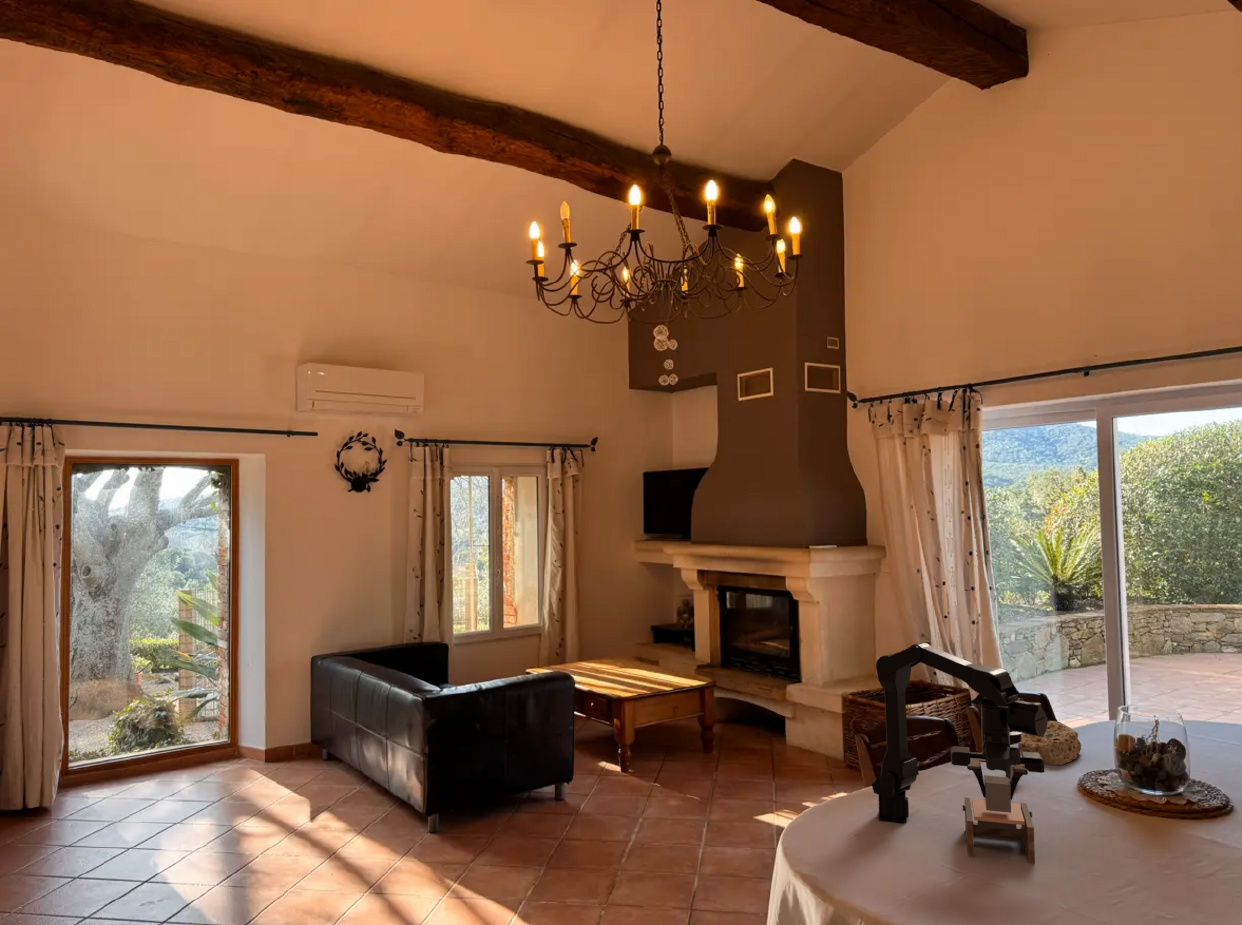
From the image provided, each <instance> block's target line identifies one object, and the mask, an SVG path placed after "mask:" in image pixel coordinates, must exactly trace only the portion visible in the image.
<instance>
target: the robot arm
mask: <svg viewBox="0 0 1242 925" xmlns="http://www.w3.org/2000/svg"><path fill="white" fill-rule="evenodd" d="M920 663H922V664H923V665H926V666H928V667H930V668H933V669H935V670H937V671H940V672H942V673H944V674H947V675H949V676H951V677H954V678H956V679H957V680H961V681H963V682H964V683H965V684H967V685H968V687H969V688H970V689H971V690H972V691H974V692H976V693H977V696H976V697H975V698H973V699H972V700H971V702H970V703H971V704H972V705H978V706H980V719H981V720H980V721H981V752H975V751H974V752H972V751H970V747H969V746H967V747H966V746H958V745H955V746H954V745H953V746H952V747H951V748H950V760H951V761H950V762H951V765H953V766H959V767H960V766H961V767H966V769H967V770H969V771H972V772H973V774H974V776H975V778H976V779H977V782H978V786H979V788H980V791H981V795H982V797H983V798H984V799H985V786H984V775H983V768H982V763H985V765H986V766H985V767H986V769H987V770H989V771H1003V772H1005V771H1006V772H1007V771H1010V770H1011V772H1010V779H1009V782H1010V791H1011V801H1012V800H1013V797H1014V794H1015V792H1016V789H1017V786H1018V784H1019V781H1020V780H1021V778H1022V777H1023V776H1028V775H1029V773H1040V774H1043V773H1045V763H1044V760H1043V758H1042V756H1041V755H1040V754H1039V753H1035V752H1023V751H1022V756H1020V748H1019V747H1017V746H1016V747H1014V746H1011V738H1010V735H1011V734H1010V729H1011V730H1012V731H1013V732H1016V733H1021V734H1022V733H1025V734H1030V735H1035V736H1039V737H1042V736H1043V735H1044V734H1045V732H1046V729H1047V721H1048V717H1047V716H1046V712H1045V711H1044V709H1043V704H1042V703H1040V702H1029V701H1024V698H1023V697H1022V694H1021V693H1020V692H1019V690H1018V689H1017V687H1016V686H1015V685H1014V683H1013V681H1012V677H1011V676H1010V673H1009V672H1008V671H1007V670H1005V669H1003V668H1000V667H995V666H992V665H985V664H976V663H972V662H970V661H967V660H965V659H963V658H961V657H959V656H956V655H953V654H951V653H949V652H946V651H944V650H941V649H939V648H937V647H934V646H931V645H930V644H928V643H927V642H919V643H915V644H912V645H910V646H909V647H908V648H906V649H903V650H901V651H899V652H892V653H889V654H884V655H882V656H880V657H879V658H878V659H877V660H876V663H875V669H876V674H877V679H878V682H879V684H880V686H881V687H882V689H883V691H884V707H885V731H886V733H885V734H886V752H885V754H884V757H883V760H882V762H881V769H880V771H881V772H880V776H879V777H878V778H877V779H876V780H874V781H873V783H872V784H871V787H872V791H873V793H874V794H876V795H878V796H877V797H878V817H877V819H878V820H879V821H885V822H895V823H907V819H908V818H909V815H910V811H909V808H910V806H909V804H910V803H909V797H907V795H906V792H907V791H909V790H911V787H912V784H913V783H915V782H916V781H917V776H919V775H920V772H919V770H918V762H919V761H918V760H919V759H918V758H917V757H913V756H912V755H911V754H910V752H909V747H908V744H909V742H908V728H907V727H908V726H907V725H908V723H907V703H906V702H907V701H906V700H907V699H906V690H907V687H908V685H909V682H910V680H911V672H912V668H913V667H915V666H917V665H919V664H920ZM1003 695H1006V696H1003ZM1006 772H1005V773H1006Z"/></svg>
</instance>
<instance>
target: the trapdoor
mask: <svg viewBox="0 0 1242 925" xmlns="http://www.w3.org/2000/svg"><path fill="white" fill-rule="evenodd" d="M971 806H972V810H973V811H972V813H973V820H974V821H977V823H978V826H979V827H988V828H998V829H1008V830H1016V827H1017V825H1020V826H1021V825H1025V821H1024V818H1023V814H1022V811H1021V803H1017V802H1016V803H1014V802H1011V813H1009V812H999V811H989V810H986V806H985V799H982V800H981V799H975V798H974V799H971Z"/></svg>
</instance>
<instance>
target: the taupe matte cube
mask: <svg viewBox="0 0 1242 925" xmlns="http://www.w3.org/2000/svg"><path fill="white" fill-rule="evenodd" d="M983 780H984V786H985V798H984V800H985V806H986V810H989V811H999V812H1009V813H1011V803H1012V800H1011V791H1010V779H1009V778H1008V777H1006V776H996V775H983Z"/></svg>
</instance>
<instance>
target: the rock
mask: <svg viewBox="0 0 1242 925" xmlns="http://www.w3.org/2000/svg"><path fill="white" fill-rule="evenodd" d="M1017 748H1020V753H1022V751H1023V752H1035V753H1039V754H1040V755H1041V756H1042V758H1043V760H1044V764H1046V765H1050V766H1063V765H1064V764H1067V763H1071V762H1072V761H1073V760H1076V758H1077V757H1078V754H1079V753H1080V752H1081V750H1082V744H1081V741H1080V740H1079V733H1078V731H1076V730H1074V729H1073V728H1072V727H1070V726H1067V725H1066V724H1064V723H1062V721H1061V722H1060V721H1057V720H1047V729H1046V732H1045V734H1044V735H1043V736H1042V737H1039V736H1035V735H1030V734H1025V733H1021V734H1020V741H1019V742H1018V746H1017Z"/></svg>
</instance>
